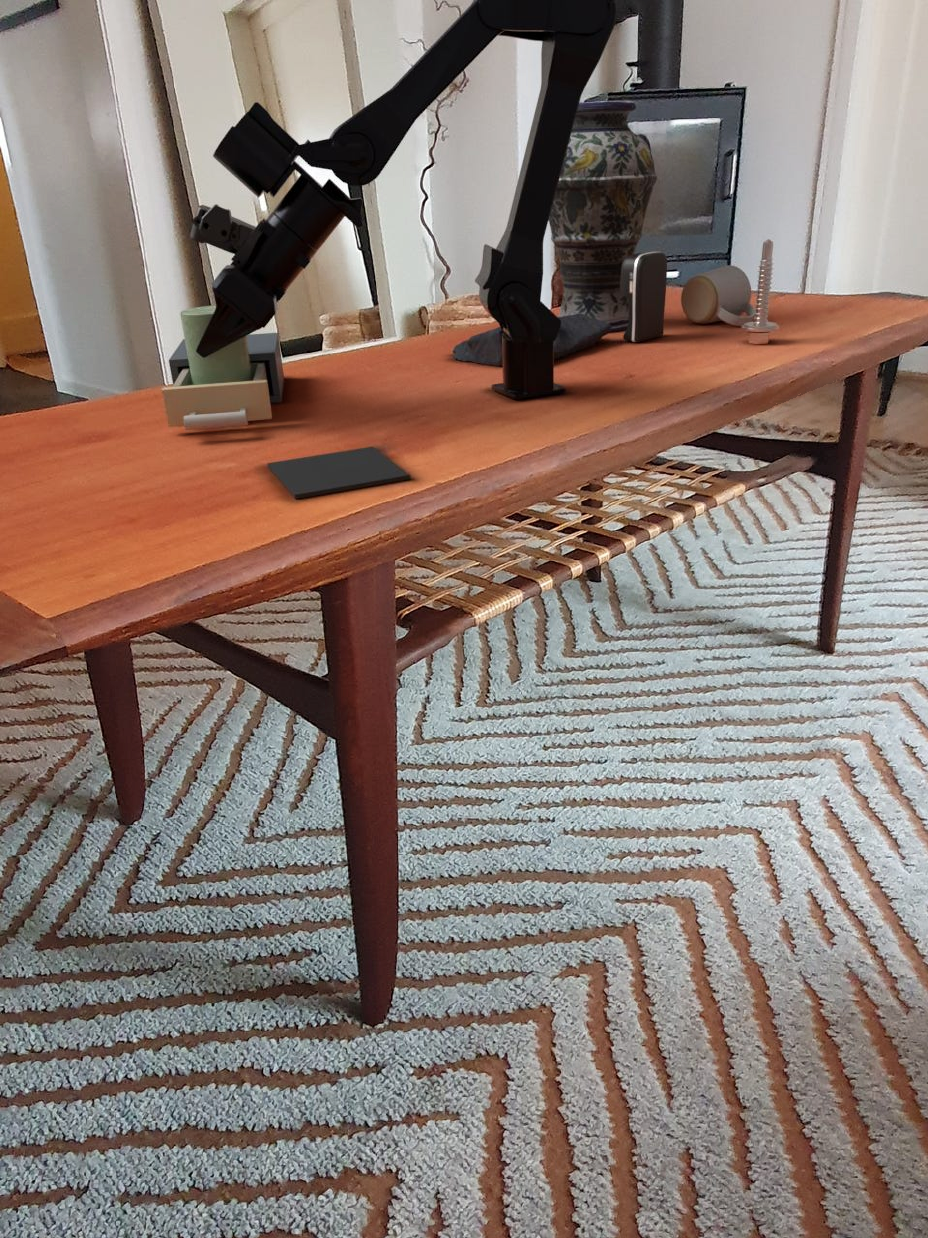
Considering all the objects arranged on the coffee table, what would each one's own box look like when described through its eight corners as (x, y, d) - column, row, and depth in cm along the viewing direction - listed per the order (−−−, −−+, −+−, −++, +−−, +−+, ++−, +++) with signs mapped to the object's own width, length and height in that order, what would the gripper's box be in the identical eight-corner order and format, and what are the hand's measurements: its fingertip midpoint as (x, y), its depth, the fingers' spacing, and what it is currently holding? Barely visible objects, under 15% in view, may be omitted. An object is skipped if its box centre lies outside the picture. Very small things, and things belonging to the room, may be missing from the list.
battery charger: (642, 333, 136) (645, 249, 131) (665, 335, 133) (669, 250, 128) (614, 341, 131) (616, 254, 126) (637, 343, 129) (640, 255, 124)
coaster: (410, 479, 79) (409, 474, 79) (295, 499, 76) (294, 494, 76) (372, 450, 88) (372, 446, 87) (267, 467, 84) (267, 463, 84)
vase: (519, 324, 147) (515, 108, 134) (616, 313, 153) (622, 104, 139) (566, 340, 133) (567, 100, 120) (671, 328, 139) (683, 96, 125)
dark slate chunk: (630, 343, 130) (631, 307, 127) (526, 371, 116) (525, 331, 114) (545, 333, 139) (545, 299, 137) (440, 358, 126) (438, 321, 123)
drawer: (270, 428, 93) (265, 390, 91) (163, 437, 92) (155, 398, 90) (275, 392, 107) (270, 358, 106) (183, 399, 106) (177, 365, 105)
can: (260, 396, 101) (247, 310, 97) (200, 404, 99) (185, 316, 95) (247, 385, 106) (235, 303, 102) (190, 393, 104) (176, 308, 100)
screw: (738, 345, 125) (742, 338, 129) (776, 346, 123) (778, 339, 127) (747, 240, 119) (750, 237, 123) (787, 240, 117) (789, 236, 121)
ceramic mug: (675, 322, 143) (679, 268, 139) (709, 315, 147) (714, 263, 143) (732, 330, 135) (737, 274, 132) (766, 323, 140) (772, 268, 136)
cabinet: (281, 402, 107) (274, 352, 104) (177, 410, 105) (168, 359, 103) (284, 377, 119) (278, 332, 116) (190, 384, 117) (183, 338, 115)
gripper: (239, 171, 101) (155, 284, 105) (219, 174, 85) (120, 308, 89) (320, 245, 105) (236, 351, 109) (317, 261, 89) (218, 386, 93)
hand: (204, 348), depth 100 cm, fingers open, 7 cm apart
